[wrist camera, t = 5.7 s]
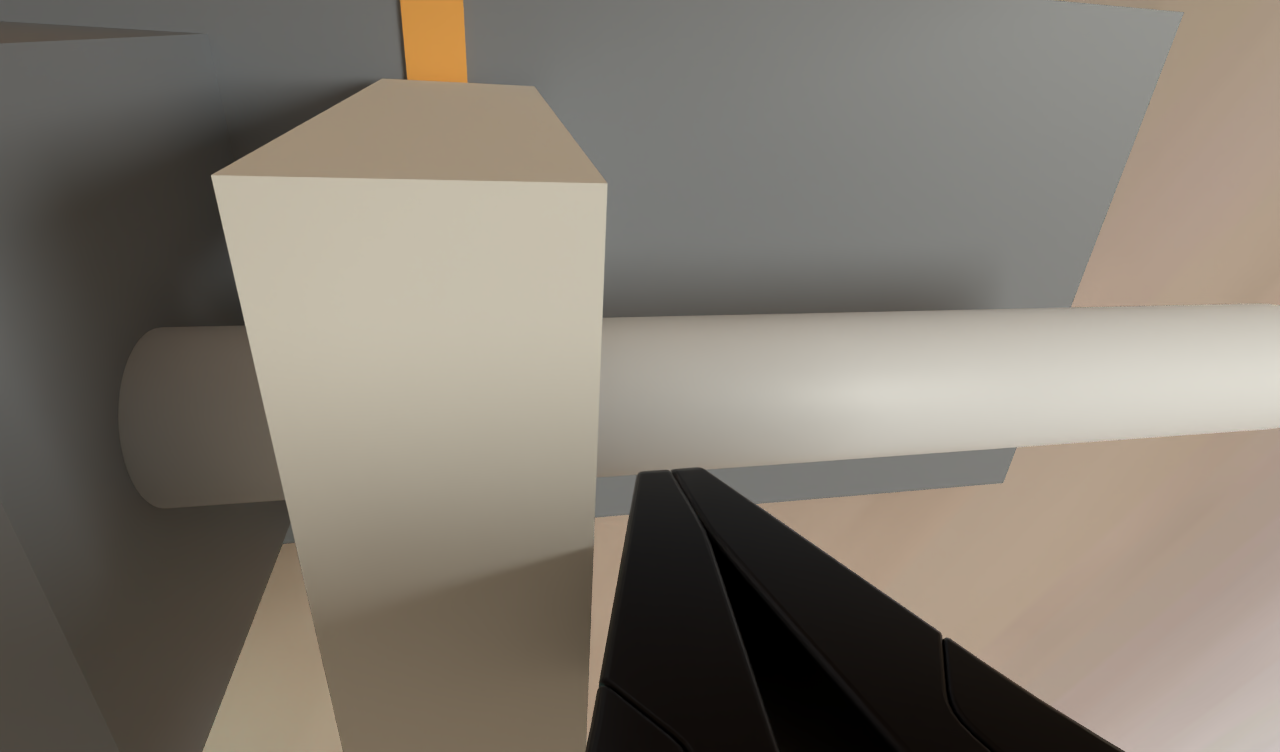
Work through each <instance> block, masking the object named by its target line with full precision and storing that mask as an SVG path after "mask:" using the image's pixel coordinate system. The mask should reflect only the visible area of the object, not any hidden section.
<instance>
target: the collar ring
mask: <svg viewBox="0 0 1280 752" xmlns="http://www.w3.org/2000/svg"><path fill="white" fill-rule="evenodd" d="M211 178H212V182H213V187H214V191H215V196H216V200H217V204H218V209H219V213H220V217H221V222H222V226H223V230H224V235H225V239H226V243H227V248H228V252H229V257H230V261H231V265H232V270H233V274H234V278H235V283H236V287H237V291H238V296H239V300H240V304H241V309H242V313H243V318H244V322H245V326H246V331H247V335H248V339H249V344H250V348H251V352H252V357H253V361H254V365H255V370H256V374H257V379H258V383H259V387H260V392H261V396H262V400H263V405H264V409H265V413H266V418H267V422H268V426H269V431H270V435H271V440H272V444H273V448H274V453H275V457H276V461H277V466H278V470H279V474H280V479H281V483H282V487H283V492H284V496H285V500H286V505H287V509H288V514H289V518H290V522H291V527H292V531H293V535H294V540H295V544H296V548H297V553H298V557H299V561H300V566H301V570H302V575H303V579H304V583H305V588H306V592H307V596H308V601H309V605H310V609H311V614H312V618H313V622H314V627H315V631H316V636H317V640H318V644H319V649H320V653H321V657H322V662H323V666H324V670H325V675H326V679H327V683H328V688H329V692H330V697H331V701H332V705H333V710H334V714H335V718H336V723H337V727H338V731H339V736H340V740H341V744H342V749H343V752H585V750H586V733H587V707H588V681H589V655H590V629H591V603H592V577H593V551H594V524H595V498H596V472H597V446H598V420H599V394H600V368H601V342H602V316H603V290H604V264H605V238H606V211H607V185H608V183H607V182H606V181H605V179H604V178H603V177H602V175H601V174H600V173H599V171H598V170H597V169H596V167H595V166H594V165H593V163H592V162H591V161H590V159H589V158H588V157H587V156H586V154H585V153H584V152H583V150H582V149H581V148H580V146H579V145H578V144H577V142H576V141H575V140H574V138H573V137H572V136H571V134H570V133H569V132H568V130H567V129H566V128H565V126H564V125H563V124H562V122H561V121H560V120H559V118H558V117H557V116H556V114H555V113H554V112H553V110H552V109H551V108H550V106H549V105H548V104H547V103H546V101H545V100H544V99H543V97H542V96H541V95H540V93H539V92H538V91H537V89H536V88H535V87H534V86H521V85H501V84H481V83H461V82H441V81H421V80H402V79H380V80H379V81H377V82H375V83H373V84H372V85H370V86H368V87H366V88H365V89H363V90H361V91H359V92H357V93H356V94H354V95H352V96H350V97H349V98H347V99H345V100H343V101H341V102H340V103H338V104H336V105H334V106H333V107H331V108H329V109H327V110H326V111H324V112H322V113H320V114H318V115H317V116H315V117H313V118H311V119H310V120H308V121H306V122H304V123H302V124H301V125H299V126H297V127H295V128H294V129H292V130H290V131H288V132H287V133H285V134H283V135H281V136H279V137H278V138H276V139H274V140H272V141H271V142H269V143H267V144H265V145H264V146H262V147H260V148H258V149H256V150H255V151H253V152H251V153H249V154H248V155H246V156H244V157H242V158H240V159H239V160H237V161H235V162H233V163H232V164H230V165H228V166H226V167H225V168H223V169H221V170H219V171H217V172H216V173H214V174H212V175H211Z"/></svg>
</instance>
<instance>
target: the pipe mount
mask: <svg viewBox="0 0 1280 752" xmlns="http://www.w3.org/2000/svg"><path fill="white" fill-rule="evenodd" d="M1183 14H1184V12H1175V11H1164V10H1153V9H1142V8H1131V7H1120V6H1109V5H1098V4H1087V3H1076V2H1065V1H1054V0H0V752H202V751H203V748H204V746H205V743H206V741H207V738H208V735H209V733H210V730H211V728H212V725H213V722H214V720H215V717H216V715H217V712H218V709H219V707H220V704H221V702H222V699H223V697H224V694H225V691H226V689H227V686H228V684H229V681H230V678H231V676H232V673H233V671H234V668H235V665H236V663H237V660H238V658H239V655H240V653H241V650H242V647H243V645H244V642H245V640H246V637H247V634H248V632H249V629H250V627H251V624H252V621H253V619H254V616H255V614H256V611H257V609H258V606H259V603H260V601H261V598H262V596H263V593H264V590H265V588H266V585H267V583H268V580H269V578H270V575H271V572H272V570H273V567H274V565H275V562H276V559H277V557H278V554H279V552H280V549H281V546H282V544H286V543H295V540H294V535H293V531H292V527H291V522H290V518H289V514H288V509H287V505H286V500H285V496H284V492H283V487H282V483H281V479H280V474H279V470H278V466H277V461H276V457H275V453H274V448H273V444H272V440H271V435H270V431H269V426H268V422H267V418H266V413H265V409H264V405H263V400H262V396H261V392H260V387H259V383H258V379H257V374H256V370H255V365H254V361H253V357H252V352H251V348H250V344H249V339H248V335H247V331H246V326H245V322H244V318H243V313H242V309H241V304H240V300H239V296H238V291H237V287H236V283H235V278H234V274H233V270H232V265H231V261H230V257H229V252H228V248H227V243H226V239H225V235H224V230H223V226H222V222H221V217H220V213H219V209H218V204H217V200H216V196H215V191H214V187H213V182H212V178H211V175H212V174H214V173H216V172H217V171H219V170H221V169H223V168H225V167H226V166H228V165H230V164H232V163H233V162H235V161H237V160H239V159H240V158H242V157H244V156H246V155H248V154H249V153H251V152H253V151H255V150H256V149H258V148H260V147H262V146H264V145H265V144H267V143H269V142H271V141H272V140H274V139H276V138H278V137H279V136H281V135H283V134H285V133H287V132H288V131H290V130H292V129H294V128H295V127H297V126H299V125H301V124H302V123H304V122H306V121H308V120H310V119H311V118H313V117H315V116H317V115H318V114H320V113H322V112H324V111H326V110H327V109H329V108H331V107H333V106H334V105H336V104H338V103H340V102H341V101H343V100H345V99H347V98H349V97H350V96H352V95H354V94H356V93H357V92H359V91H361V90H363V89H365V88H366V87H368V86H370V85H372V84H373V83H375V82H377V81H379V80H380V79H402V80H421V81H441V82H461V83H481V84H501V85H521V86H534V87H535V88H536V89H537V91H538V92H539V93H540V95H541V96H542V97H543V99H544V100H545V101H546V103H547V104H548V105H549V106H550V108H551V109H552V110H553V112H554V113H555V114H556V116H557V117H558V118H559V120H560V121H561V122H562V124H563V125H564V126H565V128H566V129H567V130H568V132H569V133H570V134H571V136H572V137H573V138H574V140H575V141H576V142H577V144H578V145H579V146H580V148H581V149H582V150H583V152H584V153H585V154H586V156H587V157H588V158H589V159H590V161H591V162H592V163H593V165H594V166H595V167H596V169H597V170H598V171H599V173H600V174H601V175H602V177H603V178H604V179H605V181H606V182H607V183H608V185H607V211H606V238H605V264H604V290H603V316H602V342H601V368H600V394H599V420H598V446H597V472H596V498H595V517H606V516H618V515H629V514H630V508H631V503H632V497H633V492H634V486H635V481H636V476H637V474H638V473H639V472H641V471H651V470H669V471H671V470H672V469H679V468H692V467H701V468H704V469H705V470H707V471H709V472H710V473H711V474H713V475H714V476H716V477H717V478H719V479H720V480H721V481H723V482H724V483H726V484H727V485H729V486H730V487H732V488H733V489H734V490H736V491H737V492H739V493H740V494H742V495H743V496H745V497H746V498H747V499H749V500H750V501H752V502H753V503H755V504H760V503H772V502H784V501H795V500H807V499H819V498H831V497H843V496H855V495H866V494H878V493H890V492H902V491H914V490H926V489H938V488H949V487H961V486H973V485H985V484H997V483H1003V482H1004V479H1005V476H1006V474H1007V471H1008V469H1009V466H1010V463H1011V461H1012V458H1013V456H1014V453H1015V450H1016V448H1017V447H1027V446H1041V445H1055V444H1069V443H1083V442H1097V441H1111V440H1125V439H1139V438H1152V437H1166V436H1180V435H1194V434H1208V433H1222V432H1236V431H1250V430H1264V429H1274V428H1280V306H1279V305H1273V304H1261V303H1258V304H1212V305H1166V306H1120V307H1074V308H1070V307H1071V305H1072V302H1073V300H1074V297H1075V294H1076V292H1077V289H1078V287H1079V284H1080V281H1081V279H1082V276H1083V274H1084V271H1085V268H1086V266H1087V263H1088V261H1089V258H1090V255H1091V253H1092V250H1093V248H1094V245H1095V242H1096V240H1097V237H1098V235H1099V232H1100V229H1101V227H1102V224H1103V222H1104V219H1105V216H1106V214H1107V211H1108V209H1109V206H1110V203H1111V201H1112V198H1113V196H1114V193H1115V190H1116V188H1117V185H1118V183H1119V180H1120V177H1121V175H1122V172H1123V170H1124V167H1125V164H1126V162H1127V159H1128V157H1129V154H1130V151H1131V149H1132V146H1133V144H1134V141H1135V138H1136V136H1137V133H1138V131H1139V128H1140V125H1141V123H1142V120H1143V118H1144V115H1145V112H1146V110H1147V107H1148V105H1149V102H1150V99H1151V97H1152V94H1153V92H1154V89H1155V87H1156V84H1157V81H1158V79H1159V76H1160V74H1161V71H1162V68H1163V66H1164V63H1165V61H1166V58H1167V55H1168V53H1169V50H1170V48H1171V45H1172V42H1173V40H1174V37H1175V35H1176V32H1177V29H1178V27H1179V24H1180V22H1181V19H1182V16H1183Z"/></svg>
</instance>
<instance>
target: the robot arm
mask: <svg viewBox="0 0 1280 752" xmlns="http://www.w3.org/2000/svg"><path fill="white" fill-rule="evenodd" d="M585 752H1125V751H1123V750H1121V749H1120V748H1118V747H1116V746H1115V745H1113V744H1111V743H1110V742H1108V741H1106V740H1105V739H1103V738H1102V737H1100V736H1098V735H1097V734H1095V733H1093V732H1092V731H1090V730H1089V729H1087V728H1085V727H1084V726H1082V725H1081V724H1079V723H1077V722H1076V721H1074V720H1072V719H1071V718H1069V717H1068V716H1066V715H1064V714H1063V713H1061V712H1060V711H1058V710H1056V709H1055V708H1053V707H1051V706H1050V705H1048V704H1047V703H1045V702H1043V701H1042V700H1040V699H1039V698H1037V697H1036V696H1034V695H1033V694H1031V693H1030V692H1028V691H1027V690H1025V689H1024V688H1022V687H1021V686H1019V685H1018V684H1016V683H1015V682H1013V681H1012V680H1010V679H1009V678H1007V677H1006V676H1004V675H1003V674H1001V673H1000V672H998V671H997V670H995V669H994V668H992V667H991V666H989V665H988V664H986V663H985V662H983V661H982V660H980V659H979V658H977V657H976V656H974V655H973V654H971V653H970V652H969V651H967V650H966V649H964V648H963V647H961V646H960V645H959V644H957V643H956V642H954V641H953V640H951V639H950V638H944V639H942V634H941V633H940V632H939V631H938V630H936V629H935V628H934V627H932V626H931V625H929V624H928V623H926V622H925V621H923V620H922V619H921V618H919V617H918V616H916V615H915V614H913V613H912V612H910V611H909V610H908V609H906V608H905V607H903V606H902V605H900V604H899V603H897V602H896V601H895V600H893V599H892V598H890V597H889V596H887V595H886V594H884V593H883V592H882V591H880V590H879V589H877V588H876V587H874V586H873V585H872V584H870V583H869V582H867V581H866V580H864V579H863V578H861V577H860V576H859V575H857V574H856V573H854V572H853V571H851V570H850V569H848V568H847V567H846V566H844V565H843V564H841V563H840V562H838V561H837V560H835V559H834V558H833V557H831V556H830V555H828V554H827V553H825V552H824V551H822V550H821V549H820V548H818V547H817V546H815V545H814V544H812V543H811V542H809V541H808V540H807V539H805V538H804V537H802V536H801V535H799V534H798V533H797V532H795V531H794V530H792V529H791V528H789V527H788V526H786V525H785V524H784V523H782V522H781V521H779V520H778V519H776V518H775V517H773V516H772V515H771V514H769V513H768V512H766V511H765V510H763V509H762V508H760V507H759V506H758V505H756V504H755V503H753V502H752V501H750V500H749V499H747V498H746V497H745V496H743V495H742V494H740V493H739V492H737V491H736V490H734V489H733V488H732V487H730V486H729V485H727V484H726V483H724V482H723V481H721V480H720V479H719V478H717V477H716V476H714V475H713V474H711V473H710V472H709V471H707V470H705V469H704V468H701V467H692V468H679V469H672V470H671V471H669V470H651V471H641V472H639V473H638V474H637V476H636V481H635V486H634V492H633V497H632V503H631V508H630V514H629V519H628V525H627V531H626V536H625V542H624V547H623V553H622V558H621V564H620V570H619V575H618V581H617V586H616V592H615V597H614V603H613V608H612V614H611V620H610V625H609V631H608V636H607V642H606V647H605V653H604V658H603V664H602V670H601V675H600V681H599V688H598V690H597V695H596V700H595V706H594V712H593V717H592V723H591V728H590V732H589V737H588V741H587V746H586V750H585Z"/></svg>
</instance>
